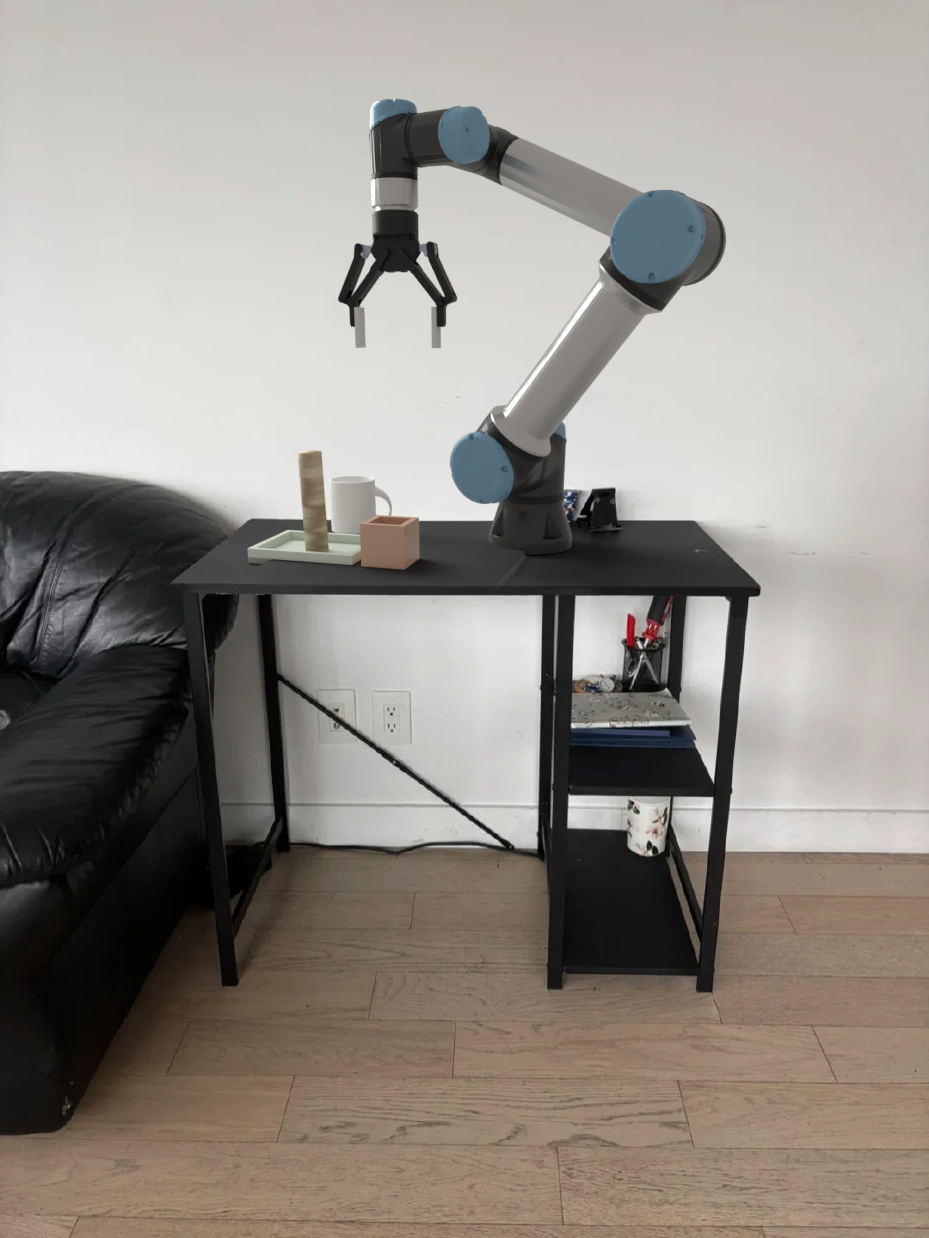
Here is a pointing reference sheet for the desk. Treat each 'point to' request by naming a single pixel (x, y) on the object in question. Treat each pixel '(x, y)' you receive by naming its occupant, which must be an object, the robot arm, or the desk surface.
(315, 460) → the dowel
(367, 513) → the mug
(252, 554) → the tray
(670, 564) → the desk surface
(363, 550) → the planter
